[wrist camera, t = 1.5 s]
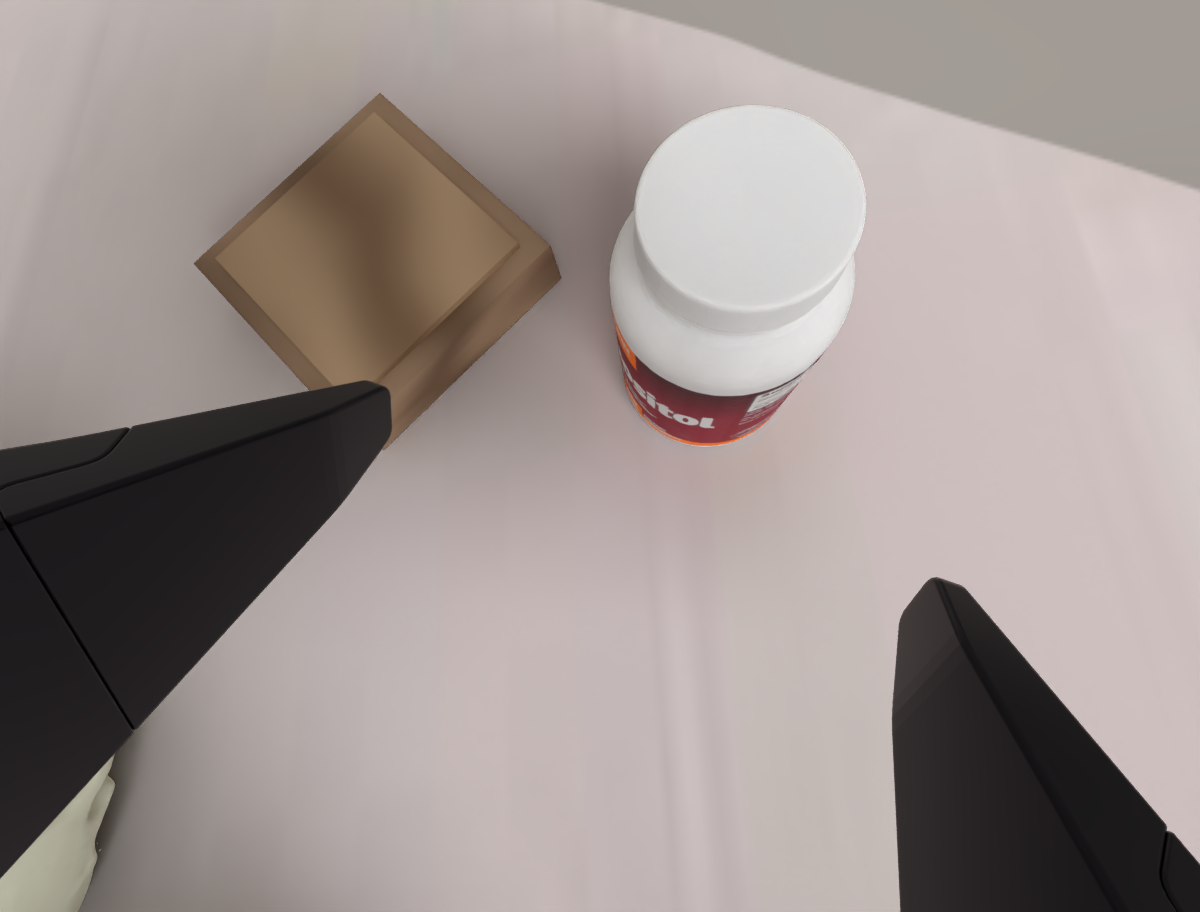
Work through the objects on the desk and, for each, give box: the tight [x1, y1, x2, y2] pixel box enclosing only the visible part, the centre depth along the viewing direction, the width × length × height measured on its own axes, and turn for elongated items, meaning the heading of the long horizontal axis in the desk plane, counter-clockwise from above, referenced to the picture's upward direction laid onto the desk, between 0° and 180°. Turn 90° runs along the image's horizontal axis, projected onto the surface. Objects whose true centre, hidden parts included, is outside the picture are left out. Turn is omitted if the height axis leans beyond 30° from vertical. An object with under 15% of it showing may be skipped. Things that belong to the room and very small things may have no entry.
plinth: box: [194, 93, 561, 450], centre depth 23 cm, size 10×10×3 cm
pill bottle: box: [609, 105, 866, 447], centre depth 17 cm, size 6×6×11 cm
